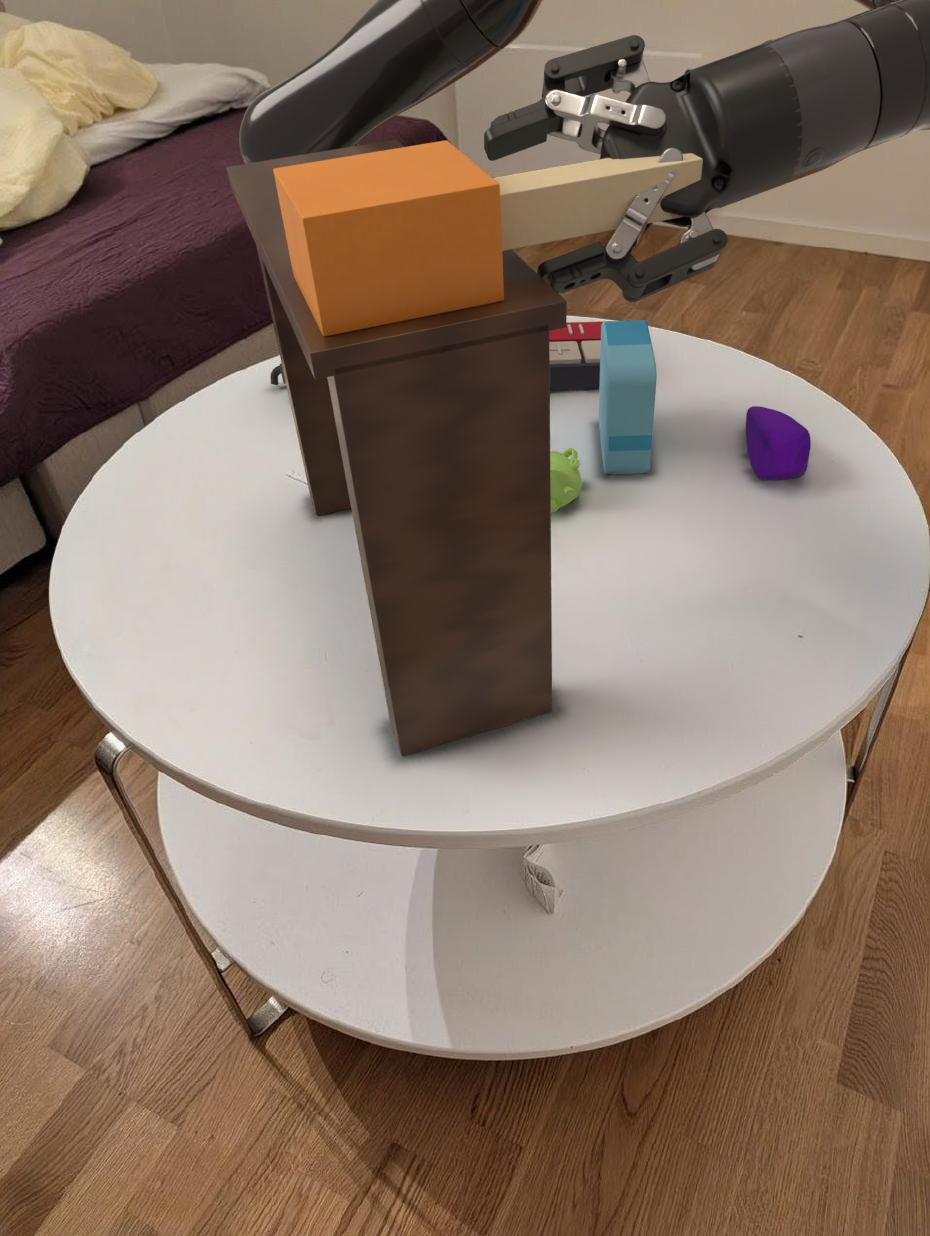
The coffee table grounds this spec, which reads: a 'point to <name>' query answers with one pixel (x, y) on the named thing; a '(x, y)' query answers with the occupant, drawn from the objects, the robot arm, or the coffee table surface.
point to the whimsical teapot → (564, 478)
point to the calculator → (575, 355)
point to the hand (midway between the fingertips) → (512, 211)
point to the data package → (626, 396)
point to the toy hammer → (440, 225)
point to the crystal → (776, 444)
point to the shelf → (431, 478)
